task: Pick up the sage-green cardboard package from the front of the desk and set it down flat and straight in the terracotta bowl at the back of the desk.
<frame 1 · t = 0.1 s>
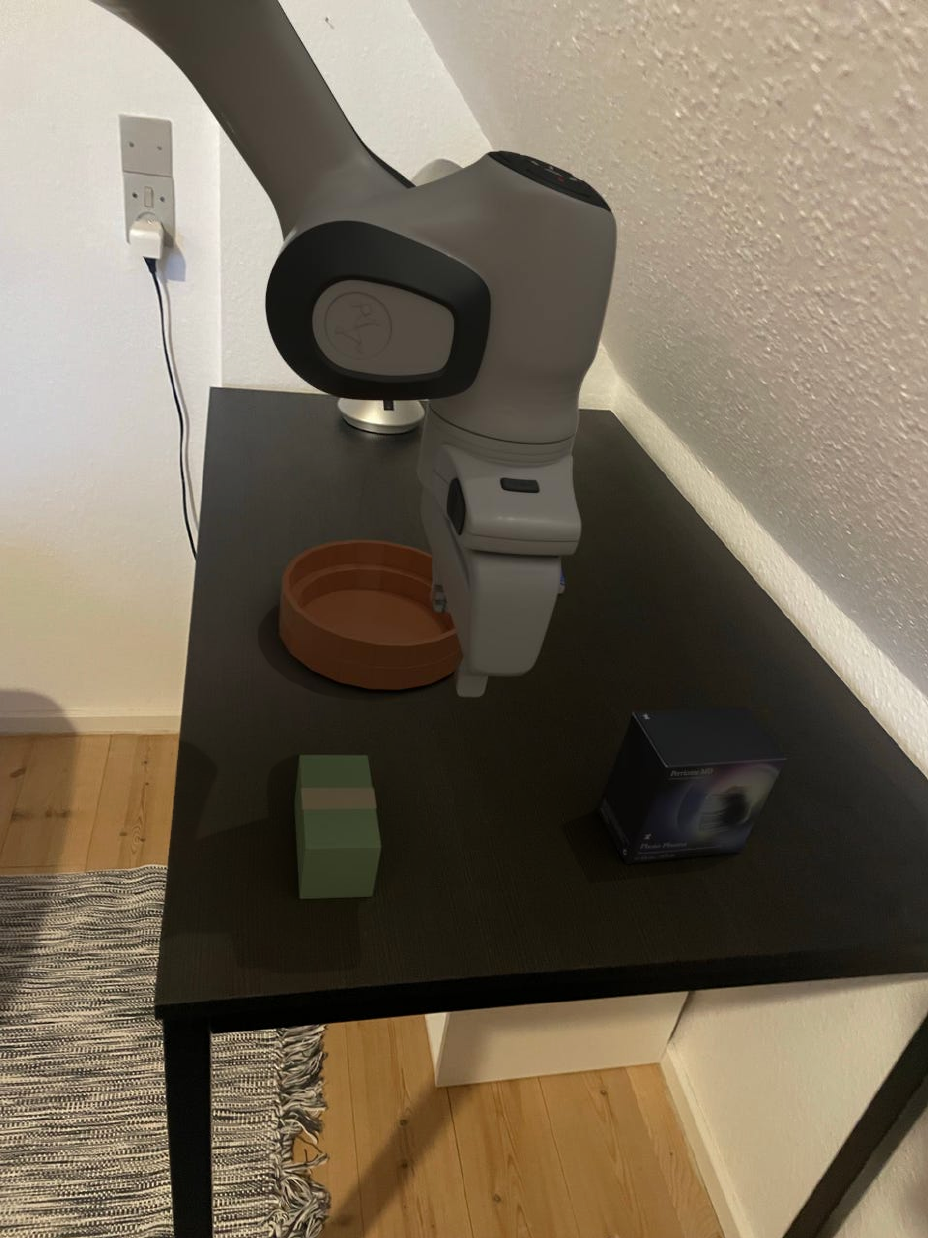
hand: (454, 646, 64), 16 cm above the table, tool pointing down, fingers open, 8 cm apart
hard drive: (521, 563, 109), on the table
bowl: (374, 635, 92), on the table
small box: (667, 834, 76), on the table
package: (331, 848, 68), on the table
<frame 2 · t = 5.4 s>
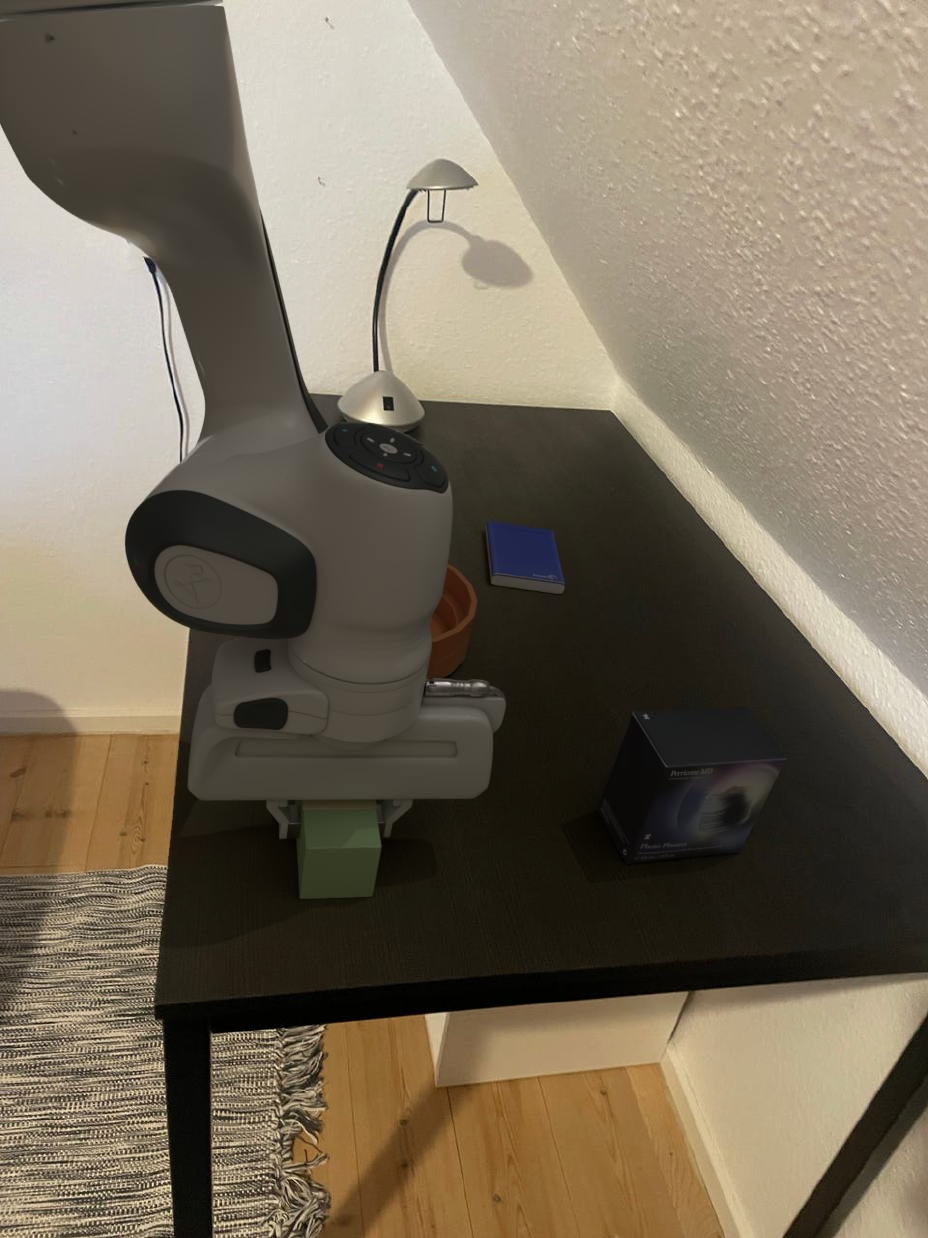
hand: (333, 831, 67), 2 cm above the table, tool pointing down, fingers closed on package, 5 cm apart
package: (331, 848, 68), on the table, touching gripper
everything else where it was.
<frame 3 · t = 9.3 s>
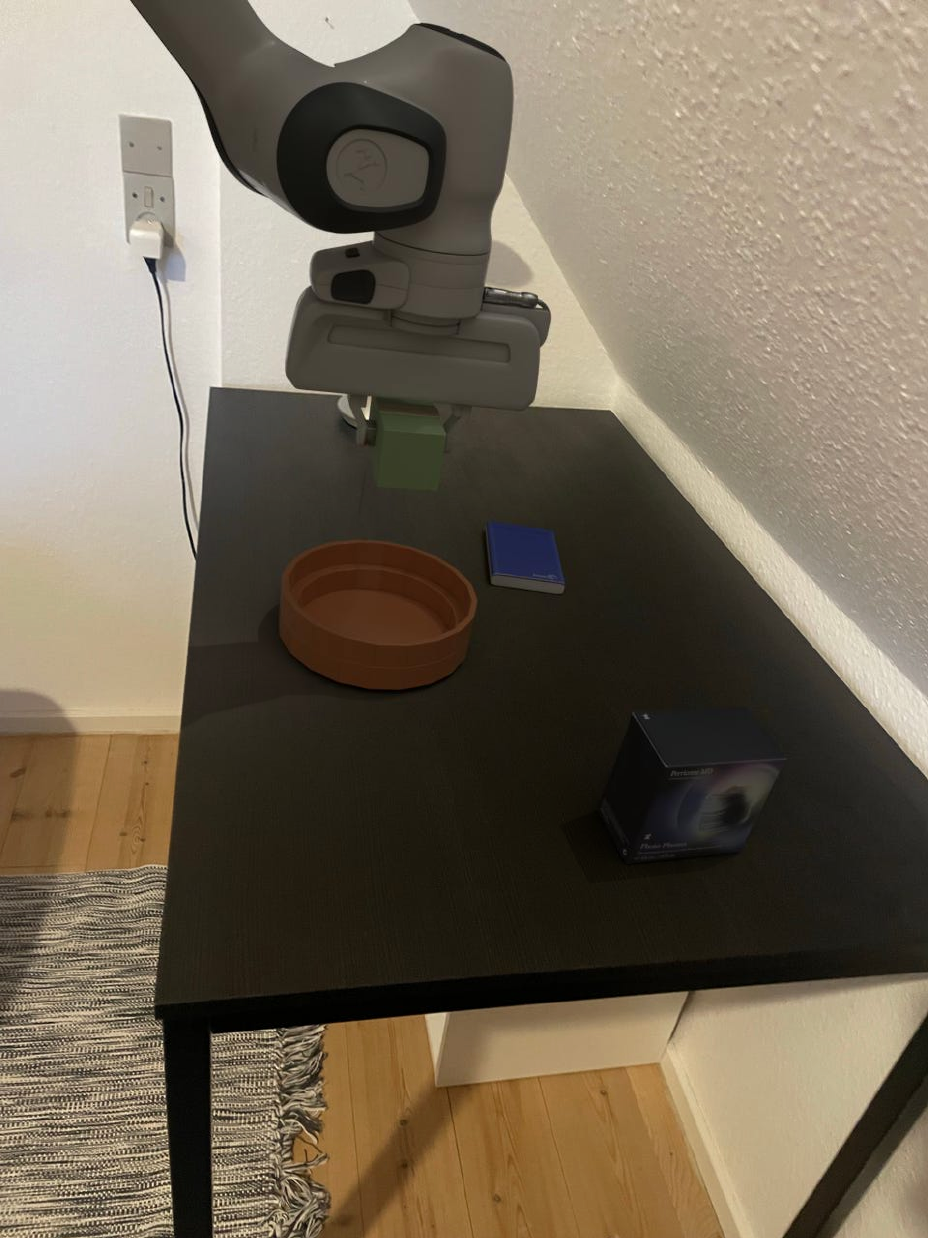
hand: (402, 446, 79), 20 cm above the table, tool pointing down, fingers closed on package, 5 cm apart
package: (400, 465, 80), point 19 cm above the table, touching gripper
everything else where it was.
when the fingers open (2 cm above the table, at t = 13.7 s): package stays where it is, resting on bowl.
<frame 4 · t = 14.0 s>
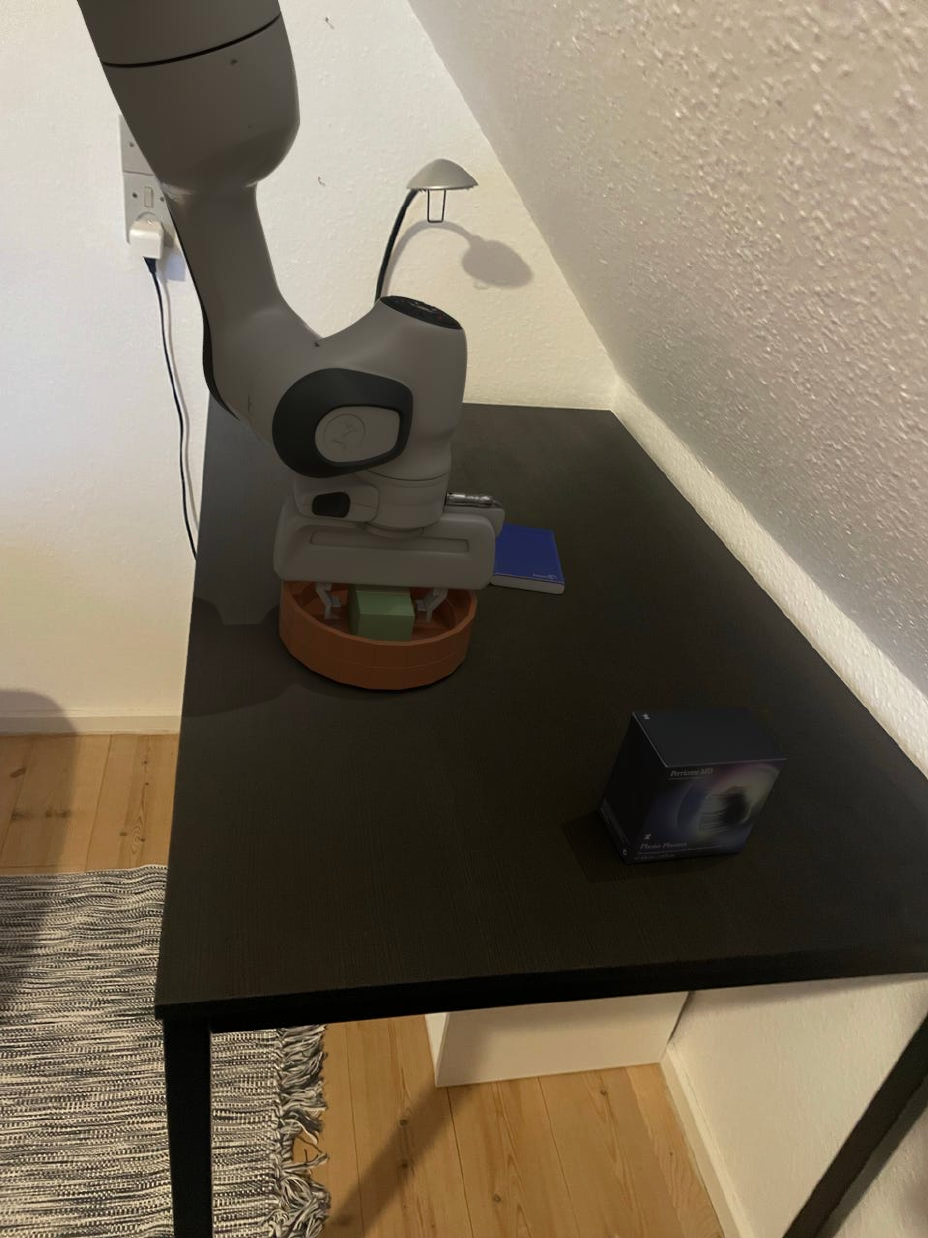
hand: (376, 618, 90), 2 cm above the table, tool pointing down, fingers open, 7 cm apart
package: (375, 631, 91), point 1 cm above the table, touching bowl
everything else where it was.
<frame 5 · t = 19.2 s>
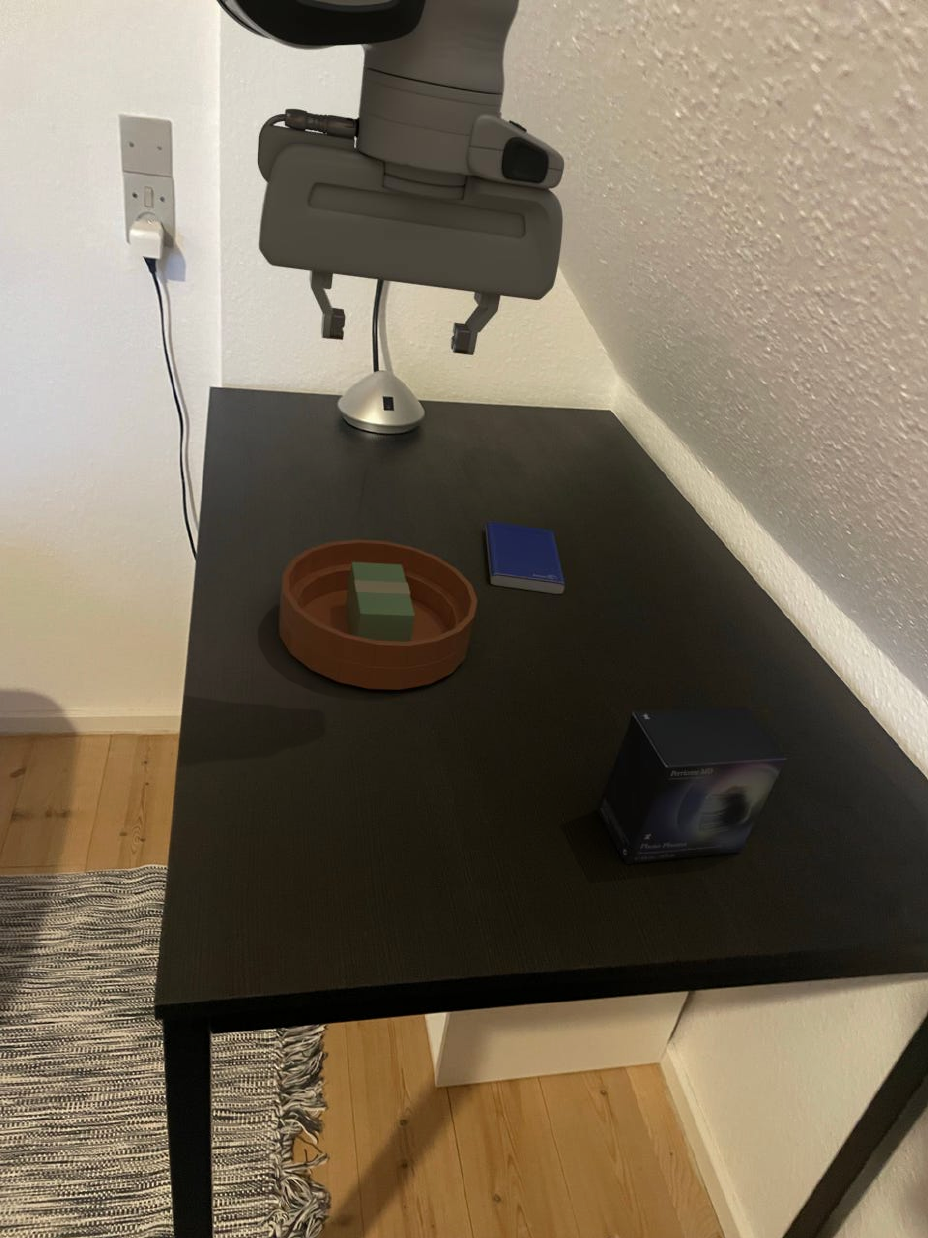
hand: (397, 344, 68), 31 cm above the table, tool pointing down, fingers open, 8 cm apart
nothing on the table moved.
at the end: package inside the target area in the bowl (0.1 cm from its centre), point 0.6 cm above the bowl's base; package tilted 0°; the gripper is holding nothing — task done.
